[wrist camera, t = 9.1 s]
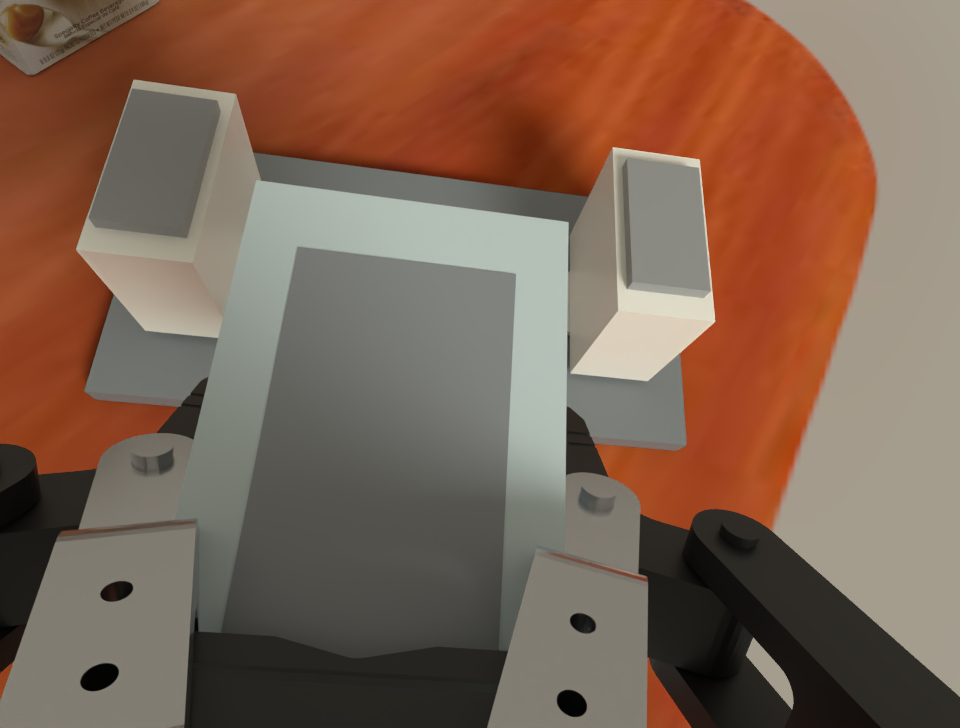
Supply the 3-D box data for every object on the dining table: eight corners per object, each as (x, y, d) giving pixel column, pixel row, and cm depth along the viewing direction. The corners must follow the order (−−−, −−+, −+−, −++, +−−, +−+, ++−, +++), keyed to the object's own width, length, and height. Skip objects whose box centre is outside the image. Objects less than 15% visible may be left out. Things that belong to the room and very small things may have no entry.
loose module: (272, 675, 14) (116, 759, 6) (319, 390, 17) (255, 179, 9) (465, 686, 15) (562, 778, 7) (483, 406, 18) (568, 221, 9)
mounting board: (95, 399, 29) (80, 388, 28) (167, 155, 34) (158, 135, 33) (676, 450, 32) (690, 443, 31) (661, 219, 37) (672, 203, 36)
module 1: (145, 330, 29) (68, 240, 22) (184, 187, 32) (127, 67, 25) (235, 339, 29) (187, 254, 22) (265, 197, 32) (232, 82, 25)
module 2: (569, 373, 31) (623, 303, 24) (569, 235, 34) (617, 137, 27) (647, 381, 31) (722, 314, 24) (640, 244, 34) (705, 150, 27)
